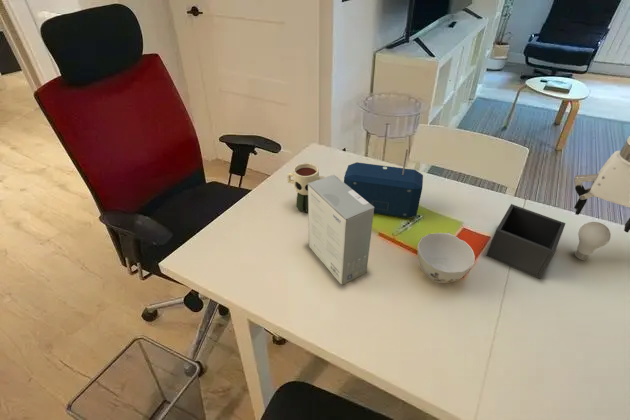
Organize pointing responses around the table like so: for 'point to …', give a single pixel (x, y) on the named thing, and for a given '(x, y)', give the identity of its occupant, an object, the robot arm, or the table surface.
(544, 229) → the bin
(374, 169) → the radio
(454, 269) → the teacup
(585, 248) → the lightbulb
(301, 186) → the character mug
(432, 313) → the table surface
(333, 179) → the hard drive box
